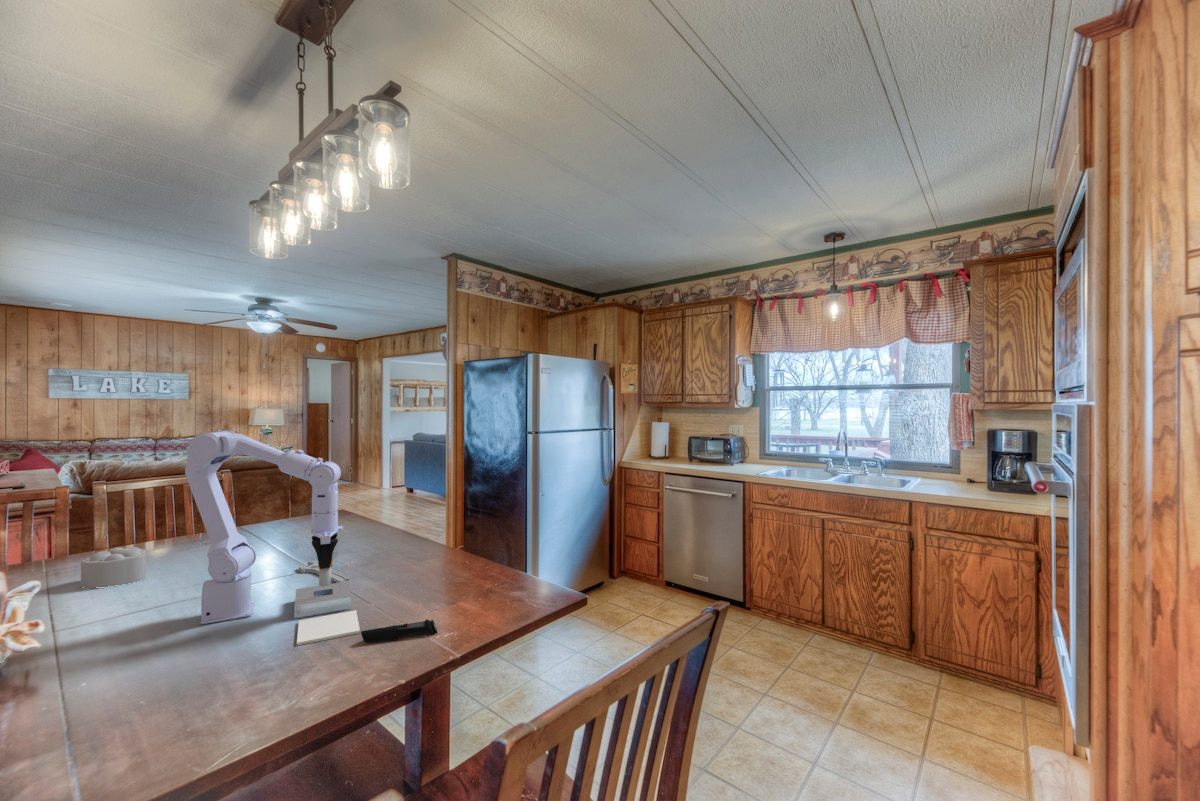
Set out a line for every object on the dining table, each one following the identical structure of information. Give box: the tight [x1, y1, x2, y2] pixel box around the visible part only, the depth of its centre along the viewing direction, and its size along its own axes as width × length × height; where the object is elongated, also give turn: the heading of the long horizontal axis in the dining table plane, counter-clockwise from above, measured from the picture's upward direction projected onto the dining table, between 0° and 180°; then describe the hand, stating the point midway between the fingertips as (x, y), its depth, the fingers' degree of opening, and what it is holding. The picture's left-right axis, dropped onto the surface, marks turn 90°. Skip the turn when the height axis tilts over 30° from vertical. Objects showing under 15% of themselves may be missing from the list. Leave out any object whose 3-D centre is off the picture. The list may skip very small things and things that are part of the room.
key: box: [318, 559, 333, 586], centre depth 124 cm, size 3×3×8 cm
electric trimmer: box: [360, 619, 438, 643], centre depth 109 cm, size 4×16×3 cm, turn 112°
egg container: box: [80, 546, 147, 588], centre depth 140 cm, size 10×13×9 cm
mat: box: [296, 609, 361, 647], centre depth 113 cm, size 12×12×1 cm
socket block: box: [293, 581, 352, 620], centre depth 126 cm, size 12×12×3 cm
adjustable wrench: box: [298, 560, 352, 585], centre depth 146 cm, size 25×6×2 cm, turn 50°
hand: (324, 565), depth 124 cm, fingers closed on key, 3 cm apart
